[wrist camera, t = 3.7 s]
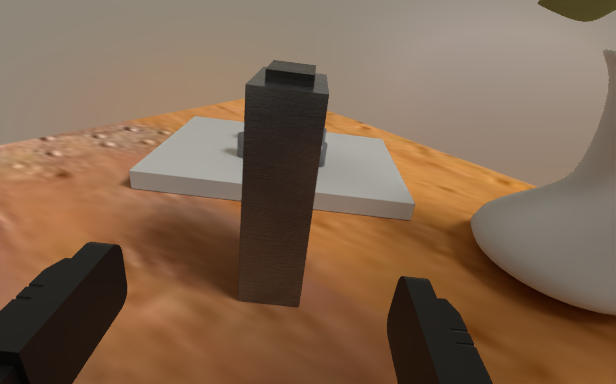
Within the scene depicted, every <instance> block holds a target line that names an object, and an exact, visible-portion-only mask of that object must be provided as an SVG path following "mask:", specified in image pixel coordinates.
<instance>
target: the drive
mask: <svg viewBox="0 0 616 384" xmlns="http://www.w3.org/2000/svg"><path fill="white" fill-rule="evenodd" d="M315 69H316V66H315V65H308V64H300V63H292V62H284V61H276V60H274V61H273V62H272V63H271V64H270V65H269V66H268V67H263V68H262V69H261V70H260V71H259V72H258V73H257V74H256V75H255V76H254V77H253V78H252V79H251V80H250V81H248V82H247V84H246V88H245V89H246V90H245V116H244V143H243V170H242V198H241V225H240V253H239V280H238V301H245V302H254V303H264V304H273V305H283V306H292V307H299V303H300V296H301V289H302V282H303V275H304V268H305V261H306V254H307V247H308V240H309V232H310V225H311V218H312V211H313V204H314V197H315V190H316V183H317V176H318V169H319V162H320V155H321V148H322V141H323V133H324V126H325V119H326V112H327V104H328V98H329V91H328V84H327V77H326V75H324V74H316V73H315Z"/></svg>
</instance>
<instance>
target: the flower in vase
mask: <svg viewBox="0 0 616 384" xmlns="http://www.w3.org/2000/svg"><path fill="white" fill-rule="evenodd" d="M538 4H539V5H541V6H543V7H545V8H547V9H549V10H551V11H553V12H556V13H558V14H560V15H562V16H565V17H567V18H570V19H574V20H577V21H583V22H587V21H593V20H597V19H599V18H601V17H603V16H605V15H607V14H609V13H611V12H612V11H614V10H616V0H540V1H539V2H538ZM603 54H604V56H605V60H606V63H607V67H608V74H609V84H608V94H607V99H606V103H605V107H604V111H603V114H602V117H601V120H600V123H599V125H598V128H597V131H596V133H595V135H594V137H593V140H592V142H591V144H590V146H589V148H588V150H587V152H586V153H585V155H584V157H583V159H582V160H581V162H580V163H579V165H578V166H577V167H576V168H575V170H574V171H573V172H571V173H570V174H569V175H568V176H566V177H565V178H564V179H561V180H559V181H557V182H555V183H552V184H549V185H545V186H542V187H538V188H534V189H529V190H525V191H521V192H517V193H514V194H510V195H506V196H503V197H500V198H498V199H495V200H493V201H490V202H488V203H486V204H484V205H483V206H482V207H481V208H480V209H479V210H478V211H477V212H476V213H475V214H474V215H473V216H472V218H471V228H472V231H473V234H474V237H475V240H476V242H477V244H478V245H479V247H480V248H481V250H482V251H483V252H484V253H485V254H486V255H487V256H488V257H489V258H490V259H491V260H492V261H493V262H494V263H495V264H496V265H498V266H499V267H500V268H501V269H503V270H504V271H506V272H507V273H508V274H510V275H511V276H513V277H514V278H516V279H518V280H519V281H521V282H522V283H524V284H526V285H528V286H530V287H532V288H533V289H535V290H537V291H539V292H541V293H544V294H546V295H548V296H550V297H552V298H555V299H557V300H560V301H562V302H565V303H568V304H571V305H573V306H576V307H580V308H583V309H587V310H590V311H594V312H599V313H603V314H610V315H616V51H613V50H604V51H603Z"/></svg>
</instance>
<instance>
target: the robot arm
mask: <svg viewBox="0 0 616 384" xmlns="http://www.w3.org/2000/svg"><path fill="white" fill-rule="evenodd" d="M126 296H127V281H126V274H125V267H124V261H123V254H122V249H121V247H120V246H119V245H116V244H107V243H97V242H88V243H86V244H85V245H84V246H83V247H82V248H81V249H80V250H79V251H78V252H77V253H76V254H75V255H74V256H73V257H72V258H64V259H62V260H61V261H59V262H57V263H55V264H53V265H52V266H50V267H48V268H46V269H44V270H43V271H42V272H41V273H40V274H39V275H38V276H37V277H36V278H35V279H34V280H33V281H32V282H31V283H30V284H29V287H25V288H24V289H23V290H22V291H21V292H20V293H19V294H18V295H17V296H16V299H13V300H11V301H10V302H9V303H8V304H7V305H6V306H5V307H4V308H3V309H2V310H1V311H0V384H72V383H73V382H74V380H75V379H76V377H77V375H78V374H79V372H80V371H81V369H82V368H83V366H84V365H85V363H86V362H87V360H88V359H89V357H90V356H91V354H92V353H93V351H94V350H95V348H96V347H97V345H98V344H99V342H100V341H101V339H102V338H103V336H104V335H105V333H106V332H107V330H108V329H109V327H110V326H111V324H112V323H113V321H114V320H115V318H116V317H117V315H118V313H119V312H120V310H121V309H122V307H123V305H124V303H125V300H126ZM387 335H388V340H389V345H390V349H391V354H392V359H393V363H394V368H395V372H396V377H397V381H398V384H493V383H492V381H491V379H490V376H489V374H488V372H487V370H486V368H485V366H484V364H483V362H482V360H481V357H480V355H479V353H478V351H477V349H476V348H475V347H474V343H473V341H472V339H471V336H470V334H469V333H467V328H466V326H465V324H464V322H463V320H462V318H461V315H460V314H459V312H458V311H457V310H456V309H455V308H454V307H453V306H452V305H451V304H450V303H449V302H448V301H447V300H446V299H440V298H437V297H436V295H435V292H434V290H433V287H432V285H431V283H430V281H429V280H428V279H424V278H415V277H406V276H401V277H400V278H399V280H398V283H397V287H396V290H395V293H394V297H393V300H392V303H391V307H390V310H389V314H388V319H387Z"/></svg>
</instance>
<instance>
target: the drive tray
mask: <svg viewBox="0 0 616 384" xmlns="http://www.w3.org/2000/svg"><path fill="white" fill-rule="evenodd" d="M243 143H244V122H238V121H230V120H222V119H213V118H205V117H197V116H195V117H193V118H192V119H191V120H190V121H189V122H187V123H186V124H185V125H184V126H183V127H181V128H180V129H179V130H178V131H176V132H175V133H174V134H173V135H172V136H170V137H169V138H168V139H167V140H166V141H164V142H163V143H162V144H161V145H160V146H158V147H157V148H156V149H155V150H154V151H152V152H151V153H150V154H149V155H147V156H146V157H145V158H144V159H143V160H141V161H140V162H139V163H138V164H137V165H135V166H134V167H133V168H132V169H131V170H129V173H130V182H131V188H133V189H142V190H150V191H159V192H168V193H177V194H185V195H194V196H203V197H211V198H220V199H229V200H237V201H241V198H242V170H243ZM414 207H415V202H414V201H413V199H412V197H411V195H410V193H409V191H408V189H407V187H406V185H405V183H404V181H403V179H402V177H401V175H400V173H399V171H398V169H397V167H396V165H395V163H394V161H393V160H392V158H391V156H390V154H389V152H388V150H387V148H386V146H385V144H384V142H383V140H382V139H378V138H370V137H361V136H353V135H345V134H337V133H329V132H326V129H325V128H324V133H323V141H322V148H321V155H320V162H319V169H318V176H317V183H316V190H315V197H314V204H313V209H316V210H324V211H333V212H342V213H350V214H359V215H368V216H376V217H385V218H394V219H402V220H411V217H412V214H413V210H414Z"/></svg>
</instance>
